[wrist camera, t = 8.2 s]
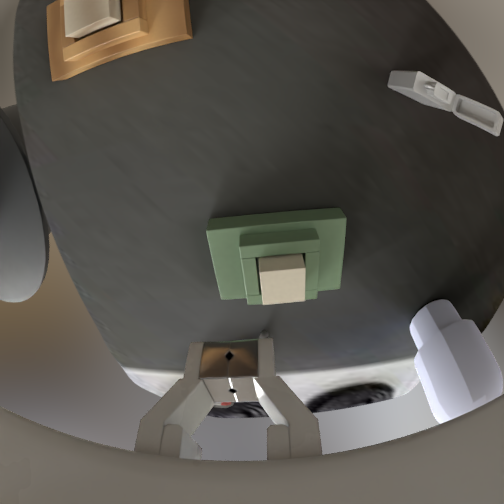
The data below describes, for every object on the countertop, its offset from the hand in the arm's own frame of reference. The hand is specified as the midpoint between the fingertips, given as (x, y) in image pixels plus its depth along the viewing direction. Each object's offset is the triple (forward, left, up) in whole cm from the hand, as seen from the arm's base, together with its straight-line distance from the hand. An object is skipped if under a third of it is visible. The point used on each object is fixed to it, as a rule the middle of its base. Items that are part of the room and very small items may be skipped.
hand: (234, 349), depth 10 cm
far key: (+3, -7, -13) cm, 15 cm away
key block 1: (-8, +17, -17) cm, 25 cm away
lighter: (+17, +8, -17) cm, 25 cm away
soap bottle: (+25, -21, -17) cm, 36 cm away
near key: (-8, +17, -13) cm, 23 cm away
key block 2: (+3, -7, -17) cm, 18 cm away
